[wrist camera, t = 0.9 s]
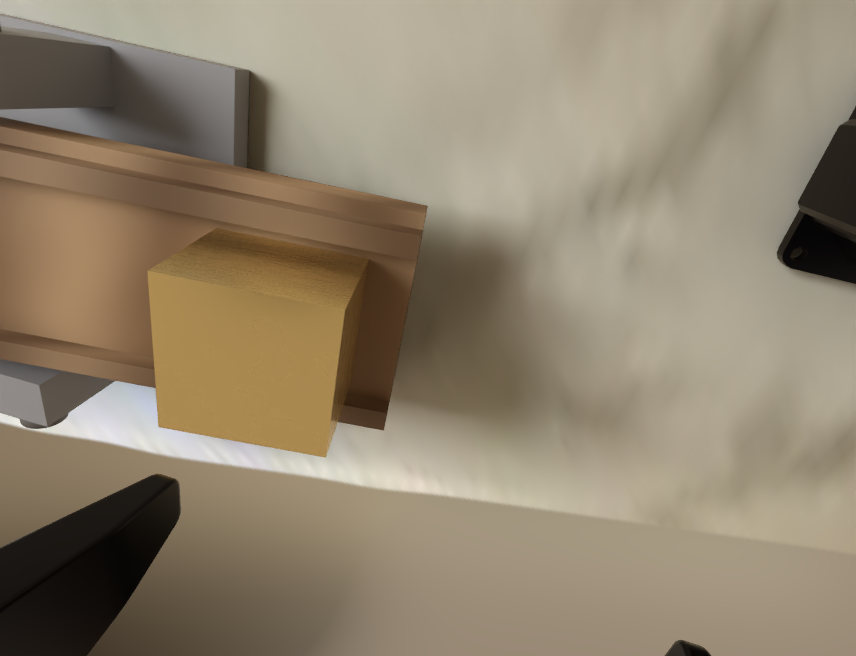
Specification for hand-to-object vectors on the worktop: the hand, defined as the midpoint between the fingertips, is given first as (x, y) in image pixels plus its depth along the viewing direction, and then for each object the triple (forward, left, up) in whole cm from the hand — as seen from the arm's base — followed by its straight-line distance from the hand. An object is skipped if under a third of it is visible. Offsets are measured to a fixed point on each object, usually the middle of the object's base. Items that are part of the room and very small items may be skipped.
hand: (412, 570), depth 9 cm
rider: (+6, +1, -9) cm, 11 cm away
